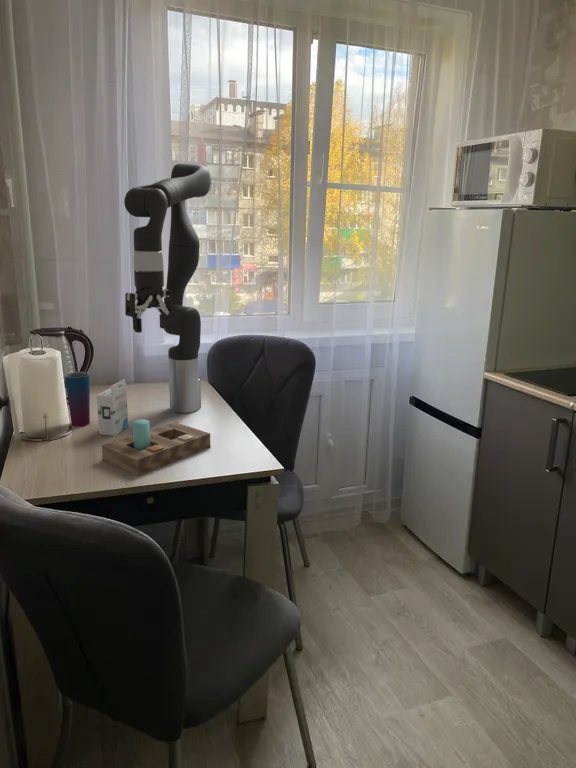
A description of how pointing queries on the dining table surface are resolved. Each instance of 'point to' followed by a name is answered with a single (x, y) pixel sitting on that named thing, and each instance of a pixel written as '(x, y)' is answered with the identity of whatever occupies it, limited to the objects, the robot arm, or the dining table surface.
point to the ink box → (113, 409)
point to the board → (156, 448)
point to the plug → (141, 434)
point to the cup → (78, 397)
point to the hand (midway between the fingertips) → (151, 330)
